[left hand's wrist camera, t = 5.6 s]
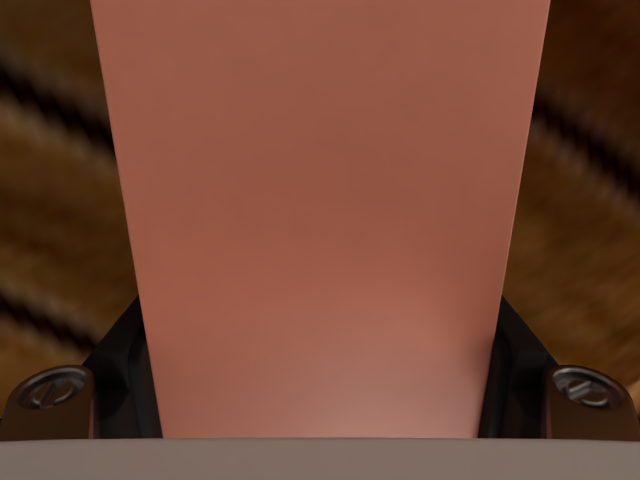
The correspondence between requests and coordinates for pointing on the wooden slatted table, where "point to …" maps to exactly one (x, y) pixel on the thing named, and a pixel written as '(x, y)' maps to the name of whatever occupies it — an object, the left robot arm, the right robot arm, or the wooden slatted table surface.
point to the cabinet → (320, 205)
